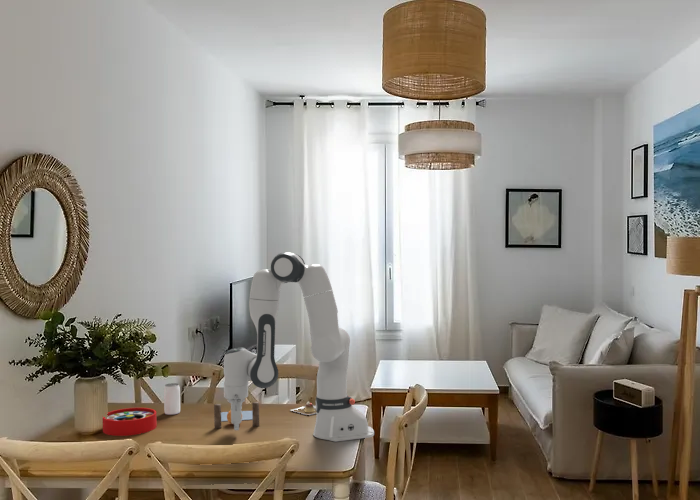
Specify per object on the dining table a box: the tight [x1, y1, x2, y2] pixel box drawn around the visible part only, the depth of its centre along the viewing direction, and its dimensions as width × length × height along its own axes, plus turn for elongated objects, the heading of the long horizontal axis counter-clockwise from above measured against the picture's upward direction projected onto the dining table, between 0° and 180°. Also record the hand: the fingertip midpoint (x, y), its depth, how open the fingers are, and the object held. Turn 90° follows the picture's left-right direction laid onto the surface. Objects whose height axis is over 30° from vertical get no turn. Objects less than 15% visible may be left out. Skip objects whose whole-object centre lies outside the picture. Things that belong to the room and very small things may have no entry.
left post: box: [213, 403, 222, 430], centre depth 264 cm, size 3×3×9 cm
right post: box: [251, 401, 260, 428], centre depth 266 cm, size 3×3×9 cm
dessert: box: [289, 400, 317, 416], centre depth 288 cm, size 12×12×5 cm
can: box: [163, 382, 181, 416], centre depth 287 cm, size 6×6×12 cm
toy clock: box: [102, 407, 158, 437], centre depth 265 cm, size 20×6×20 cm
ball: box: [227, 409, 242, 425], centre depth 269 cm, size 6×6×6 cm
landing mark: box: [221, 410, 253, 423], centre depth 281 cm, size 14×14×1 cm
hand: (236, 429), depth 252 cm, fingers closed
